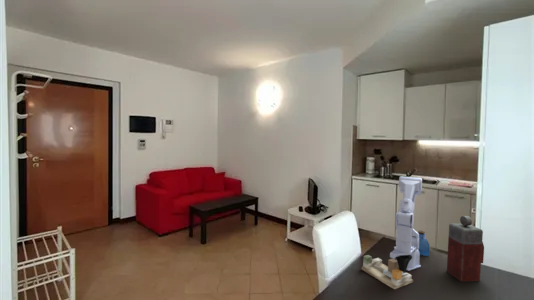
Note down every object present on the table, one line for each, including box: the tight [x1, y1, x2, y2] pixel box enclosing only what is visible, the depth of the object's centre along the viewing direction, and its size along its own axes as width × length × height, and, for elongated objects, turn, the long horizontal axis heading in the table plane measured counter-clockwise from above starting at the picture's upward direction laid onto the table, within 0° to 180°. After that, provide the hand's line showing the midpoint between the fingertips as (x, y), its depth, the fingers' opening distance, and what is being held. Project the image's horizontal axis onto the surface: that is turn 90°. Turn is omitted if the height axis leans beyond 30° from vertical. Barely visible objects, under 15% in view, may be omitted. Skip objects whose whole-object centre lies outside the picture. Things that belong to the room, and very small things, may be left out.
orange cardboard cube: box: [392, 268, 402, 280], centre depth 113 cm, size 3×2×3 cm
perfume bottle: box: [417, 230, 430, 257], centre depth 145 cm, size 6×6×12 cm
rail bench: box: [361, 254, 414, 290], centre depth 121 cm, size 12×18×6 cm, turn 27°
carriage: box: [383, 258, 404, 278], centre depth 118 cm, size 7×5×6 cm
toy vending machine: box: [446, 215, 485, 282], centre depth 121 cm, size 9×11×28 cm
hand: (402, 270), depth 115 cm, fingers closed
